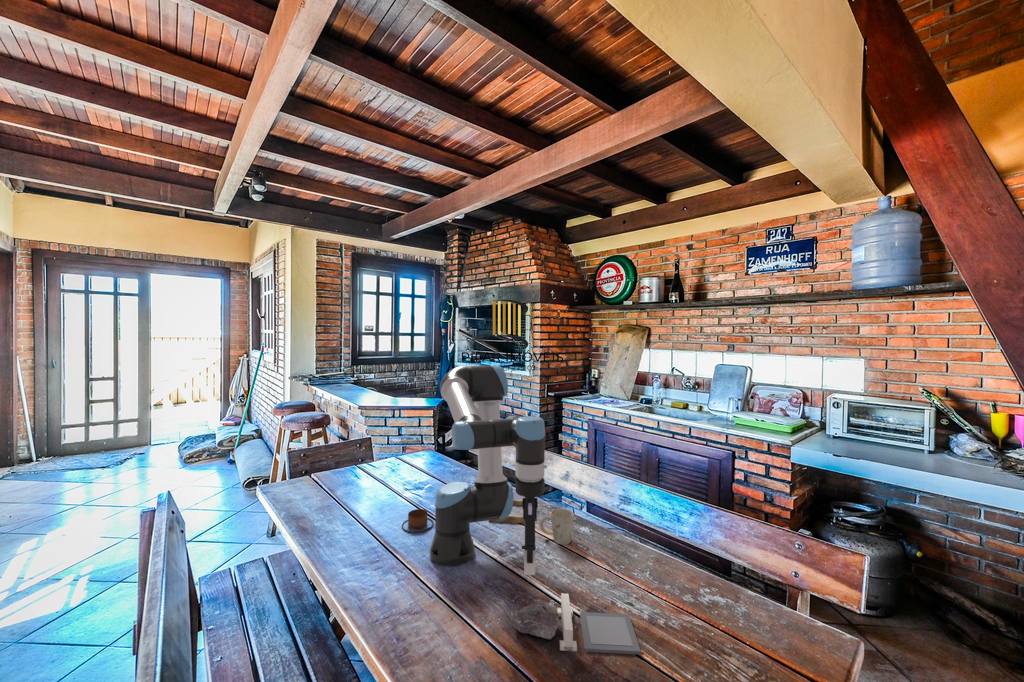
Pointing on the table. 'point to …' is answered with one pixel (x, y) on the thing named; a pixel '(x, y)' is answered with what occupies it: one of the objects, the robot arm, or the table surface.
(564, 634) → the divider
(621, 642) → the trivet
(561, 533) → the mug
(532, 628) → the rock
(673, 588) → the table surface
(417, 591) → the table surface
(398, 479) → the table surface
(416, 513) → the cup and saucer
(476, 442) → the robot arm
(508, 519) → the wooden frame
